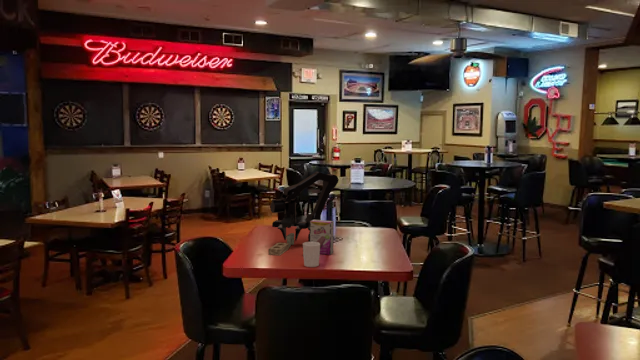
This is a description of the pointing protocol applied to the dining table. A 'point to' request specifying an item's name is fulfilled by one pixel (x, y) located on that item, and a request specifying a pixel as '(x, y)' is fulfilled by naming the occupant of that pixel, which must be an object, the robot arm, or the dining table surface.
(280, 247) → the brown block with holes
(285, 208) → the robot arm
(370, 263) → the dining table surface
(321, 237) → the candy bar box
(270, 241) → the dining table surface
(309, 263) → the white cup
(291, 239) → the clip
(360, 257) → the dining table surface
